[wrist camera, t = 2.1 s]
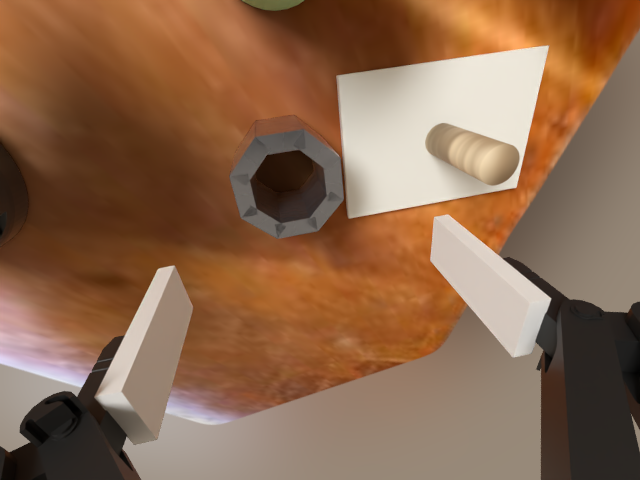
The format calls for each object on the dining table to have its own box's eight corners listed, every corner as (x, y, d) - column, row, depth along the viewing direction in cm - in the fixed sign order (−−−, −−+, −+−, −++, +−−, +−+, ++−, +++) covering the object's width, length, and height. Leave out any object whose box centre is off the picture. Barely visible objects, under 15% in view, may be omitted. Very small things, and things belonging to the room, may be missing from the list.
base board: (347, 215, 35) (348, 218, 34) (336, 75, 27) (338, 75, 27) (511, 185, 36) (516, 187, 36) (542, 45, 29) (549, 45, 28)
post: (424, 157, 32) (477, 188, 24) (426, 125, 30) (483, 147, 23) (453, 152, 32) (514, 181, 24) (457, 120, 30) (523, 141, 23)
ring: (249, 210, 32) (248, 244, 26) (227, 124, 28) (219, 142, 22) (330, 196, 33) (345, 225, 27) (320, 110, 29) (337, 123, 23)
